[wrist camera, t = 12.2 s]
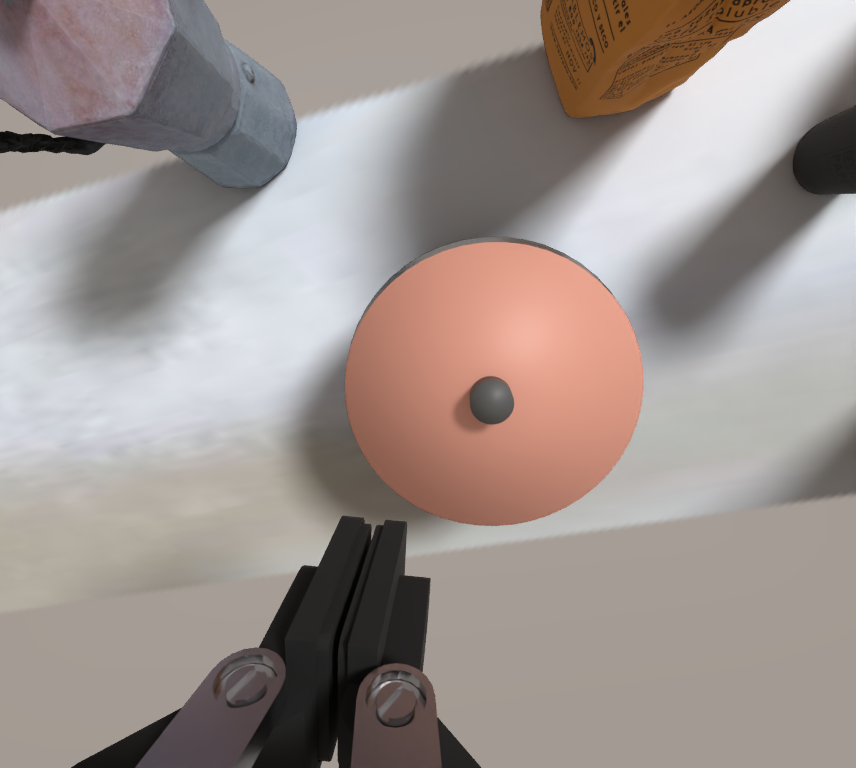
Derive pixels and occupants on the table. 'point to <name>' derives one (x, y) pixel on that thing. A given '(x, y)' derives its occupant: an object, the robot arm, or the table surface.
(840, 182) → the drinking cup
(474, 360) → the lid
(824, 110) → the table surface
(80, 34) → the moka pot
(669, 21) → the coffee package
